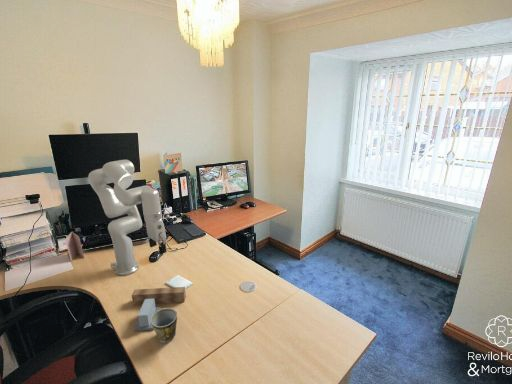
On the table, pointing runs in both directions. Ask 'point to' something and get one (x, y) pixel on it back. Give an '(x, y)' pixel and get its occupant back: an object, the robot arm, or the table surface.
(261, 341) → the table surface
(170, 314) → the ceramic cup
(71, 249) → the greeting card
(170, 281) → the hard drive
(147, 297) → the walnut batten
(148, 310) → the ridge block
